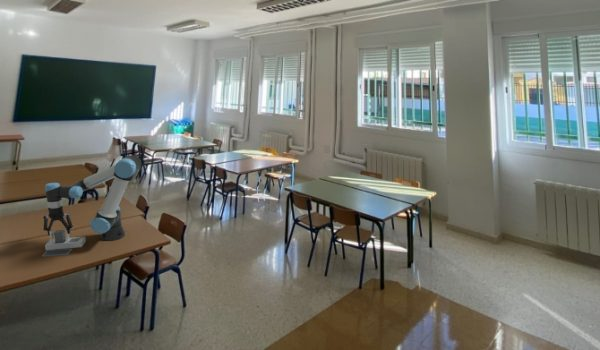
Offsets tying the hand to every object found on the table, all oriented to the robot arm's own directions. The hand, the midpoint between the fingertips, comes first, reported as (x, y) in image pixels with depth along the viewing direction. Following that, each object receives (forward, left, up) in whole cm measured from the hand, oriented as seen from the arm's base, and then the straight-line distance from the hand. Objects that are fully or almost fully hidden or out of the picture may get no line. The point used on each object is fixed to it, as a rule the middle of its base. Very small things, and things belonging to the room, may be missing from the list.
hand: (60, 238), depth 208 cm
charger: (0, 0, -5) cm, 5 cm away
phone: (-1, +10, -6) cm, 12 cm away
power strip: (-3, 0, -5) cm, 6 cm away
